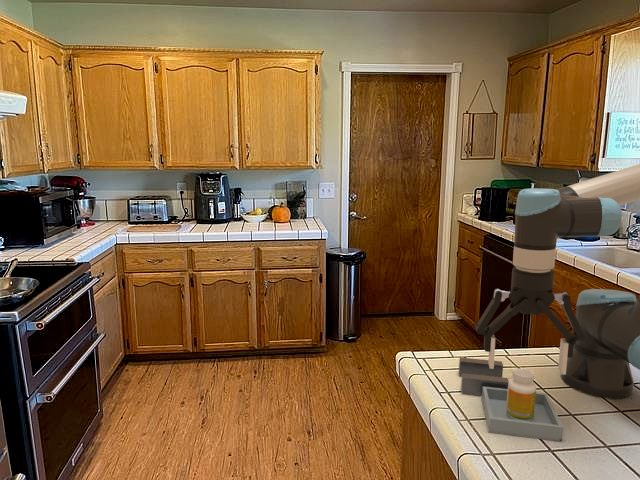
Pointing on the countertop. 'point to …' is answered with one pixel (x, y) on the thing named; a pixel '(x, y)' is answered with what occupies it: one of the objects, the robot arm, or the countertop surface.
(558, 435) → the grey tray
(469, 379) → the steel jaws
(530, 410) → the supplement bottle
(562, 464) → the countertop surface
